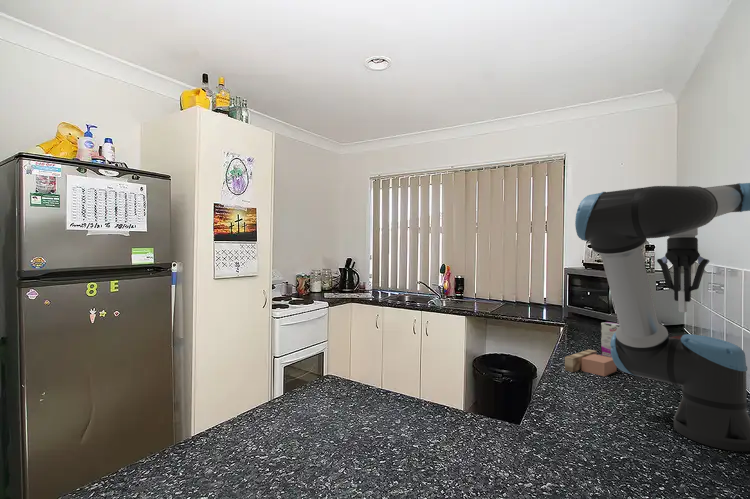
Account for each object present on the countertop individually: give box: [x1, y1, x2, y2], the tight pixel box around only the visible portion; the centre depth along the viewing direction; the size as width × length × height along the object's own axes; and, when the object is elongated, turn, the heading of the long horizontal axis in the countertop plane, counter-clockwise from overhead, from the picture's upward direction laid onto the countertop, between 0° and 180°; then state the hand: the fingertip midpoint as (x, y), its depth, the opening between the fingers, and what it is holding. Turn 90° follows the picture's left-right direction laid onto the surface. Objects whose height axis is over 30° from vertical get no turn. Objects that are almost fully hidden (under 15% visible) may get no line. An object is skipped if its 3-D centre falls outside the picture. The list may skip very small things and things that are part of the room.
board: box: [564, 349, 598, 373], centre depth 146 cm, size 19×3×5 cm, turn 126°
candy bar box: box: [600, 321, 620, 368], centre depth 147 cm, size 11×5×16 cm, turn 25°
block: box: [581, 354, 618, 377], centre depth 141 cm, size 10×8×5 cm
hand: (682, 311), depth 118 cm, fingers closed
